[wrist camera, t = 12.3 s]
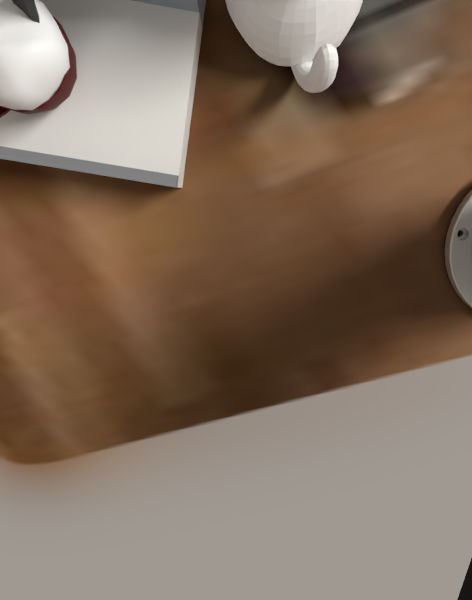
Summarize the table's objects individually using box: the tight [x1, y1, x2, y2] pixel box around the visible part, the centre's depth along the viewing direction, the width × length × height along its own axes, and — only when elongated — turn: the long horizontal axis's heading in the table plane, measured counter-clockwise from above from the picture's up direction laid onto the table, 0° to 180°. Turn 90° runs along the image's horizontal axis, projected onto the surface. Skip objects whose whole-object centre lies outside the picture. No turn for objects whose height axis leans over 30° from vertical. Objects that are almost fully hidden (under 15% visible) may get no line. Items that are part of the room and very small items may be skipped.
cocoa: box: [0, 0, 77, 118], centre depth 24 cm, size 10×6×12 cm, turn 116°
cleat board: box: [0, 0, 206, 188], centre depth 27 cm, size 18×13×12 cm
